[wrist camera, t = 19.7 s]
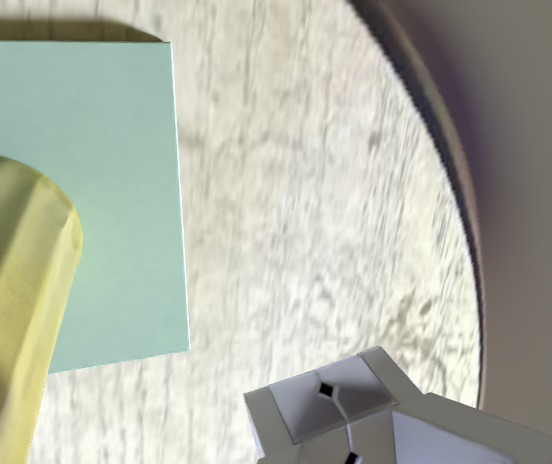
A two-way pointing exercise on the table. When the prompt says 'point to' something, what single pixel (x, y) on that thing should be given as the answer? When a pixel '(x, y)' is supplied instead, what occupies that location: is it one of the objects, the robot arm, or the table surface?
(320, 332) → the table surface
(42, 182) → the vase
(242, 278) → the table surface
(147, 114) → the mat
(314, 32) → the table surface
